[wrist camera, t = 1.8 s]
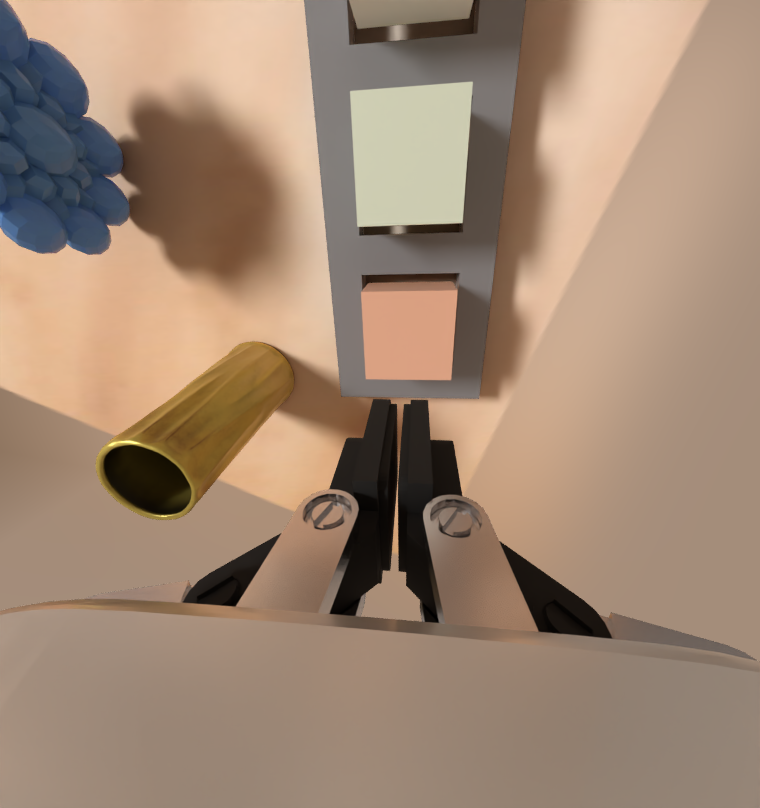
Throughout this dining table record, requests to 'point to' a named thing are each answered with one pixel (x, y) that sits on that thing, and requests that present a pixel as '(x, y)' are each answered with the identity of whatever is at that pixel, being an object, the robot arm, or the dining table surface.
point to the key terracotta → (409, 330)
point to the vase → (195, 433)
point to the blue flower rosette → (52, 151)
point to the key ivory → (407, 11)
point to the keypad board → (485, 175)
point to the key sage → (411, 153)
